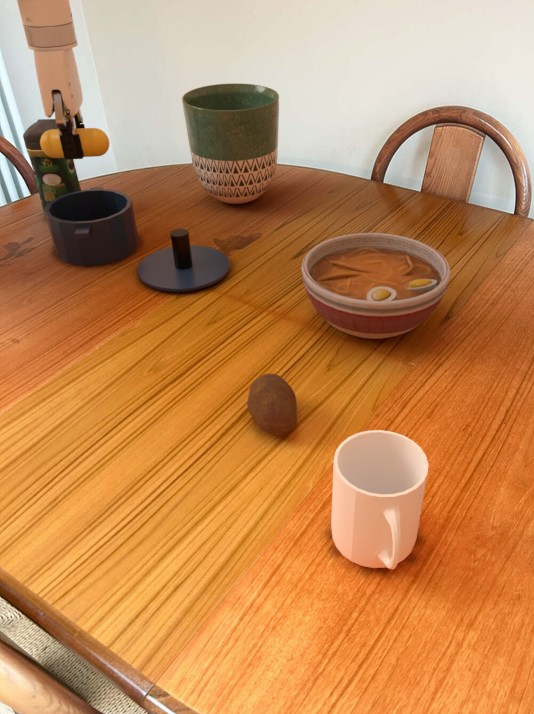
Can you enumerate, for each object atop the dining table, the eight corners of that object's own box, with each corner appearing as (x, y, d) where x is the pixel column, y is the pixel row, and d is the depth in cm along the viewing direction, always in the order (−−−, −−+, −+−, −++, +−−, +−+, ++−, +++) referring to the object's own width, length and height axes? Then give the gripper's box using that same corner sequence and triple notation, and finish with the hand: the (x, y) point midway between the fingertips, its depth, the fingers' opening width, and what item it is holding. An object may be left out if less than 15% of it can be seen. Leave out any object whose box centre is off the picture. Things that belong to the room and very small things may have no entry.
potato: (259, 449, 84) (256, 412, 80) (240, 403, 91) (236, 367, 87) (307, 438, 85) (307, 401, 81) (285, 393, 93) (284, 357, 89)
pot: (46, 275, 119) (34, 231, 114) (65, 225, 135) (55, 185, 130) (133, 270, 120) (125, 227, 115) (142, 221, 137) (135, 181, 131)
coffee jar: (51, 204, 144) (29, 115, 132) (88, 203, 144) (68, 115, 132) (40, 223, 136) (15, 131, 124) (79, 222, 137) (57, 130, 125)
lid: (134, 297, 113) (127, 257, 108) (142, 253, 126) (135, 215, 121) (231, 291, 114) (227, 251, 110) (228, 248, 127) (225, 210, 122)
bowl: (454, 360, 98) (464, 302, 92) (302, 361, 98) (302, 303, 92) (430, 283, 116) (437, 231, 110) (301, 284, 116) (300, 232, 110)
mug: (388, 493, 78) (397, 420, 70) (445, 570, 69) (462, 496, 62) (316, 519, 75) (317, 445, 67) (367, 603, 66) (375, 529, 59)
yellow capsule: (41, 162, 113) (34, 135, 110) (46, 153, 116) (40, 126, 113) (110, 159, 114) (104, 132, 111) (113, 150, 117) (108, 123, 114)
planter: (292, 187, 150) (291, 87, 137) (263, 222, 136) (259, 114, 122) (214, 178, 155) (205, 80, 141) (178, 211, 141) (165, 105, 127)
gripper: (37, 25, 109) (63, 138, 121) (14, 48, 96) (45, 171, 108) (83, 24, 110) (104, 136, 121) (66, 47, 97) (92, 170, 108)
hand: (76, 152), depth 114 cm, fingers closed on yellow capsule, 4 cm apart
